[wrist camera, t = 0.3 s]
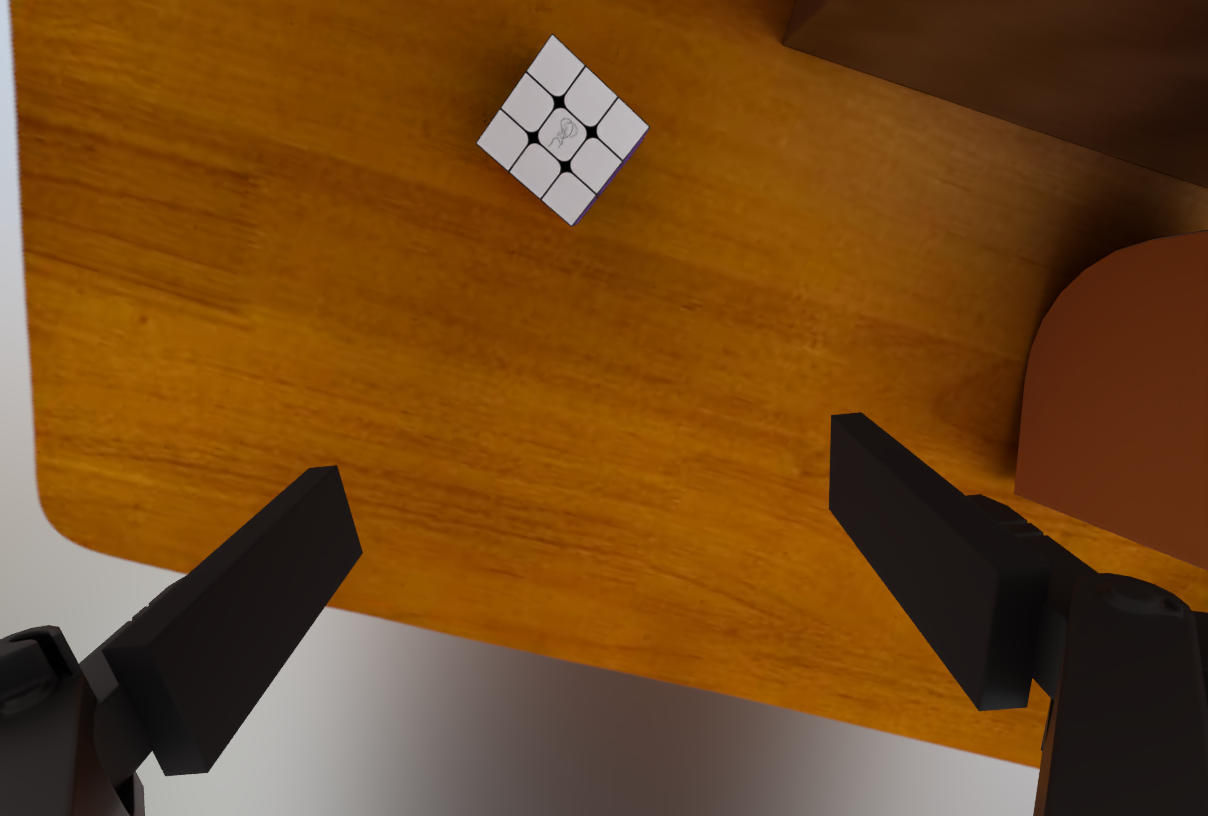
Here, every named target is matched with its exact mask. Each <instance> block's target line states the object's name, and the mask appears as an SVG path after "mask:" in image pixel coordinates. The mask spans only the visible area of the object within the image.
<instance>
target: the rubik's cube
mask: <svg viewBox="0 0 1208 816" xmlns="http://www.w3.org/2000/svg"><path fill="white" fill-rule="evenodd" d="M649 128H650V126H649V125H648V124H647V123H646V122H645V121H644V120H643V119H642V118H641V117H639V116H638V115H637V114H636V113H635V112H634V111H633V110H632V109H631V108H630V107H629V106H628V105H627V104H626V103H625V102H624V101H623V100H622V99H621V98H620V97H618V96H617V95H616V94H615V93H614V92H613V91H612V90H611V89H610V88H609V87H608V86H607V85H606V84H605V83H604V82H603V81H602V80H601V79H600V78H599V77H598V76H597V75H595V74H594V73H593V72H592V71H591V70H590V69H589V68H588V67H587V66H586V65H585V64H584V63H583V62H582V61H581V60H580V59H579V58H578V57H577V56H576V55H575V54H573V53H572V52H571V51H570V50H569V49H568V48H567V47H566V46H565V45H564V44H563V43H562V42H561V41H560V40H559V39H558V38H557V37H556V36H555V35H554V34H551V36H550V37H549V39H548V40H547V42H546V43H545V44H544V46H543V47H542V49H541V50H540V52H539V53H538V54H537V56H536V57H535V59H534V60H533V62H532V63H531V64H530V66H529V67H528V69H527V70H526V72H525V73H524V74H523V76H522V77H521V79H520V80H519V82H518V83H517V84H516V86H515V87H514V89H513V90H512V92H511V93H510V95H509V96H508V97H507V99H506V100H505V102H504V103H503V105H502V106H501V109H499V110H498V112H497V113H496V115H495V116H494V117H493V119H492V120H491V122H490V123H489V125H488V126H487V127H486V129H485V130H484V132H483V133H482V135H481V136H480V137H479V139H478V140H477V142H476V144H477V145H478V146H479V147H480V148H481V149H482V150H484V151H485V152H486V153H487V154H488V155H489V156H490V157H492V158H493V159H494V160H495V161H496V162H497V163H498V164H500V165H501V166H502V167H503V168H504V169H505V170H507V171H508V172H509V173H510V174H511V175H512V176H513V177H515V178H516V179H517V180H518V181H519V182H520V183H521V184H523V185H524V186H525V187H526V188H527V189H528V190H530V191H531V192H532V193H533V194H534V195H535V196H536V197H538V198H539V199H540V200H541V201H542V202H543V203H544V204H546V205H547V206H548V207H549V208H550V209H551V210H552V211H554V212H555V213H556V214H557V215H558V216H559V217H561V218H562V219H563V220H564V221H565V222H566V223H567V224H569V225H570V226H571V227H572V226H574V225H576V224H578V223H579V221H580V220H581V219H582V218H583V216H584V215H585V214H586V212H587V211H588V210H589V209H590V207H591V206H592V205H593V204H594V202H595V201H596V200H597V198H598V197H599V196H600V195H601V193H602V192H603V191H604V190H605V188H606V187H607V186H608V184H609V183H610V182H611V181H612V179H613V178H614V177H615V176H616V174H617V173H618V172H619V170H620V169H621V168H622V167H623V165H624V164H625V163H626V162H627V160H628V159H629V158H630V156H631V155H632V154H633V153H634V151H635V150H636V149H637V148H638V146H639V145H640V144H641V142H642V141H643V139H644V137H645V135H646V133H647V132H648V130H649Z"/></svg>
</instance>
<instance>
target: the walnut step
mask: <svg viewBox="0 0 1208 816" xmlns="http://www.w3.org/2000/svg"><path fill="white" fill-rule="evenodd" d="M783 45H784V46H787V47H790V48H793V49H796V50H799V51H802V52H805V53H808V54H811V55H814V56H817V57H820V58H823V59H826V60H829V61H832V62H835V63H838V64H841V65H844V66H847V67H850V68H853V69H856V70H859V71H862V72H865V73H868V74H871V75H874V76H876V77H879V78H882V79H885V80H888V81H891V82H894V83H897V84H900V85H903V86H906V87H909V88H912V89H915V90H918V91H921V92H924V93H927V94H930V95H933V96H936V97H939V98H942V99H945V100H948V101H951V102H954V103H957V104H960V105H963V106H966V107H969V108H972V109H974V110H977V111H980V112H983V113H986V114H989V115H992V116H995V117H998V118H1001V119H1004V120H1007V121H1010V122H1013V123H1016V124H1019V125H1022V126H1025V127H1028V128H1031V129H1034V130H1037V131H1040V132H1043V133H1046V134H1049V135H1052V136H1055V137H1058V138H1061V139H1064V140H1067V141H1070V142H1072V143H1075V144H1078V145H1081V146H1084V147H1087V148H1090V149H1093V150H1096V151H1099V152H1102V153H1105V154H1108V155H1111V156H1114V157H1117V158H1120V159H1123V160H1126V161H1129V162H1132V163H1135V164H1138V165H1141V166H1144V167H1147V168H1150V169H1153V170H1156V171H1159V172H1162V173H1165V174H1168V175H1170V176H1173V177H1176V178H1179V179H1182V180H1185V181H1188V182H1191V183H1194V184H1197V185H1200V186H1203V187H1206V188H1208V0H797V1H796V4H795V7H794V10H793V13H792V16H791V19H790V22H789V25H788V28H787V31H786V33H785V36H784V39H783Z"/></svg>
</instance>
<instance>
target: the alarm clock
mask: <svg viewBox="0 0 1208 816" xmlns="http://www.w3.org/2000/svg"><path fill="white" fill-rule="evenodd" d="M1014 494H1016V495H1018V496H1021V497H1023V498H1026V499H1028V500H1031V501H1034V502H1036V503H1039V504H1041V505H1044V506H1046V507H1049V508H1051V509H1054V510H1056V511H1059V512H1061V513H1064V514H1066V515H1069V516H1071V517H1074V518H1076V519H1079V520H1081V521H1084V522H1086V523H1089V524H1092V525H1094V526H1097V527H1099V528H1102V529H1104V530H1107V531H1109V532H1112V533H1114V534H1117V535H1119V536H1122V537H1124V538H1127V539H1129V540H1132V541H1134V542H1137V543H1139V544H1142V545H1144V546H1147V547H1149V548H1152V549H1155V550H1157V551H1160V552H1162V553H1165V554H1167V555H1170V556H1172V557H1175V558H1177V559H1180V560H1182V561H1185V562H1187V563H1190V564H1192V565H1195V566H1197V567H1200V568H1202V569H1205V570H1207V571H1208V230H1202V231H1197V232H1191V233H1185V234H1179V235H1173V236H1167V237H1161V238H1156V239H1152V240H1149V241H1146V242H1142V243H1139V244H1136V245H1133V246H1129V247H1126V248H1123V249H1119V250H1117V251H1115V252H1113V253H1112V254H1110V255H1108V256H1107V257H1105V258H1103V259H1102V260H1100V261H1098V262H1097V263H1095V264H1093V265H1092V266H1090V267H1088V268H1087V269H1085V270H1084V271H1083V272H1082V273H1081V274H1080V275H1079V276H1078V277H1077V278H1076V279H1075V280H1074V281H1073V282H1072V283H1071V284H1069V285H1068V286H1067V287H1066V288H1065V289H1064V290H1063V291H1062V292H1061V293H1060V295H1059V296H1058V298H1057V299H1056V301H1055V302H1054V304H1053V305H1052V307H1051V308H1050V310H1049V311H1048V313H1047V314H1046V316H1045V317H1044V319H1043V320H1042V323H1041V325H1040V328H1039V330H1038V332H1037V335H1036V337H1035V340H1034V342H1033V345H1032V347H1031V350H1030V355H1029V360H1028V365H1027V371H1026V376H1025V382H1024V393H1023V403H1022V414H1021V425H1020V436H1019V446H1018V457H1017V468H1016V478H1015V489H1014Z"/></svg>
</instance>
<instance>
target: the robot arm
mask: <svg viewBox="0 0 1208 816" xmlns="http://www.w3.org/2000/svg"><path fill="white" fill-rule="evenodd" d="M829 510H830V511H831V512H832V514H833V515H834V516H835V518H836V519H837V520H838V522H839V523H840V524H841V526H842V527H843V528H844V530H845V531H846V532H847V534H848V535H849V536H850V538H851V539H852V541H853V542H854V543H855V545H856V546H857V547H858V549H859V550H860V551H861V553H862V554H863V555H864V557H865V558H866V559H867V561H868V562H869V563H870V565H871V566H872V567H873V569H874V570H875V572H876V573H877V574H878V576H879V577H880V578H881V580H882V581H883V582H884V584H885V585H886V586H887V588H888V589H889V590H890V592H891V593H892V594H893V596H894V597H895V598H896V600H897V601H898V602H899V604H900V605H901V607H902V608H903V609H904V611H905V612H906V613H907V615H908V616H909V617H910V619H911V620H912V621H913V623H914V624H915V625H916V627H917V628H918V629H919V631H920V632H921V633H922V635H923V636H924V637H925V639H926V640H927V642H928V643H929V644H930V646H931V647H932V648H933V650H934V651H935V652H936V654H937V655H938V656H939V658H940V659H941V660H942V662H943V663H944V664H945V666H946V667H947V668H948V670H949V671H950V673H951V674H952V675H953V677H954V678H955V679H956V681H957V682H958V683H959V685H960V686H961V687H962V689H963V690H964V691H965V693H966V694H967V695H968V697H969V698H970V699H971V701H972V702H973V703H974V705H975V706H976V708H977V709H978V710H979V711H987V710H1000V709H1012V708H1025V707H1027V704H1028V698H1029V693H1030V687H1031V682H1032V678H1033V679H1034V680H1035V681H1036V682H1037V683H1038V684H1039V685H1040V687H1041V688H1042V689H1043V690H1044V691H1045V692H1046V693H1047V694H1048V695H1049V696H1050V698H1051V701H1050V706H1049V711H1048V716H1047V721H1046V726H1045V731H1044V736H1043V741H1042V746H1041V751H1042V758H1041V765H1040V772H1039V780H1038V786H1037V794H1036V800H1035V807H1034V814H1033V816H1208V613H1205V612H1196V611H1191V609H1190V608H1189V606H1188V605H1187V604H1186V603H1184V602H1183V601H1182V600H1181V599H1179V598H1178V597H1177V596H1176V595H1174V594H1173V593H1171V592H1169V591H1167V590H1165V589H1162V588H1160V587H1158V586H1156V585H1154V584H1152V583H1149V582H1146V581H1143V580H1139V579H1136V578H1133V577H1129V576H1123V575H1117V574H1111V573H1097V572H1096V571H1095V570H1093V569H1092V568H1091V567H1089V566H1088V565H1087V564H1085V563H1084V562H1082V561H1081V560H1080V559H1078V558H1077V557H1076V556H1074V555H1073V554H1072V553H1070V552H1069V551H1068V550H1066V549H1065V548H1064V547H1062V546H1061V545H1060V544H1058V543H1057V542H1055V541H1054V540H1053V539H1051V538H1050V537H1049V536H1047V535H1046V536H1044V535H1043V532H1042V531H1041V530H1039V529H1038V528H1037V527H1035V526H1034V525H1033V524H1031V523H1027V520H1026V519H1024V518H1023V517H1022V516H1020V515H1019V514H1018V513H1016V512H1015V511H1014V510H1012V509H1011V508H1010V507H1008V506H1007V505H1004V504H1002V503H1000V502H997V501H995V500H992V499H990V498H988V497H985V496H983V495H981V494H978V495H968V496H965V495H964V494H963V493H962V492H960V491H959V490H958V489H957V488H955V487H954V486H953V485H952V484H950V483H949V482H948V481H947V480H945V479H944V478H943V477H942V476H940V475H939V474H938V473H937V472H935V471H934V470H933V469H932V468H930V467H929V466H928V465H927V464H925V463H924V462H923V461H922V460H920V459H919V458H918V457H917V456H915V455H914V454H913V453H912V452H910V451H909V450H908V449H907V448H905V447H904V446H903V445H902V444H900V443H899V442H898V441H897V440H895V439H894V438H893V437H891V436H890V435H889V434H888V433H886V432H885V431H884V430H883V429H881V428H880V427H879V426H878V425H876V424H875V423H874V422H873V421H871V420H870V419H869V418H868V417H866V416H865V415H864V414H863V413H861V412H859V413H849V414H839V415H831V446H830V487H829ZM362 553H363V552H362V549H361V545H360V542H359V538H358V535H357V532H356V528H355V525H354V521H353V518H352V515H351V511H350V508H349V504H348V501H347V498H346V494H345V491H344V487H343V484H342V481H341V477H340V474H339V470H338V467H337V465H335V466H325V467H315V468H309V469H308V470H306V471H305V472H304V473H303V474H302V475H301V476H300V477H298V478H297V479H296V480H295V481H294V482H293V483H292V484H290V485H289V486H288V487H287V488H286V489H285V490H284V491H282V492H281V493H280V494H279V495H278V496H277V497H276V498H274V499H273V500H272V501H271V502H270V503H269V504H268V505H266V506H265V507H264V508H263V509H262V510H261V511H260V512H258V513H257V514H256V515H255V516H254V517H253V518H252V519H250V520H249V521H248V522H247V523H246V524H245V525H244V526H242V527H241V528H240V529H239V530H238V531H237V532H236V533H234V534H233V535H232V536H231V537H230V538H229V539H228V540H226V541H225V542H224V543H223V544H222V545H221V546H220V547H218V548H217V549H216V550H215V551H214V552H213V553H212V554H210V555H209V556H208V557H207V558H206V559H205V560H204V561H203V562H201V563H200V564H199V565H198V566H197V567H196V568H195V569H193V570H192V571H191V572H190V573H189V574H188V575H186V576H185V577H183V578H181V579H180V580H178V581H176V582H175V583H173V584H171V585H170V586H168V587H167V588H166V589H165V590H164V591H162V592H161V593H160V594H159V595H158V596H157V597H156V598H154V599H153V600H152V601H151V602H150V603H149V606H148V607H144V608H143V609H142V610H140V611H139V613H137V614H136V615H135V616H133V617H132V621H128V622H127V623H125V624H124V625H123V626H122V627H121V628H120V629H118V630H117V631H116V632H115V633H114V634H113V635H112V636H110V638H108V639H107V640H106V641H105V642H103V643H102V644H101V645H100V646H99V647H98V648H96V649H95V650H94V651H93V652H92V653H91V654H90V655H88V656H87V657H86V658H85V659H84V660H83V661H81V662H80V663H79V664H78V662H77V660H76V658H75V656H74V654H73V652H72V651H71V649H70V647H69V645H68V643H67V641H66V639H65V637H64V635H63V634H62V631H61V630H60V628H59V627H56V626H50V625H47V626H41V627H35V628H30V629H27V630H24V631H21V632H18V633H15V634H12V635H9V636H7V637H5V638H3V639H0V816H145V807H144V788H143V785H142V783H141V781H140V779H139V777H138V775H137V773H136V770H137V768H138V767H139V766H140V765H141V763H142V762H143V761H144V760H145V759H146V758H147V756H148V755H149V754H150V753H151V752H152V751H153V753H154V755H155V757H156V759H157V761H158V763H159V765H160V767H161V769H162V770H163V773H164V775H165V776H173V775H186V774H199V773H208V772H209V770H210V769H211V767H212V766H213V765H214V763H215V762H216V760H217V759H218V758H219V756H220V755H221V753H222V752H223V750H224V749H225V748H226V746H227V745H228V743H229V742H230V740H231V739H232V738H233V736H234V735H235V733H236V732H237V731H238V729H239V728H240V726H241V725H242V723H243V722H244V721H245V719H246V718H247V716H248V715H249V714H250V712H251V711H252V709H253V708H254V706H255V705H256V704H257V702H258V701H259V699H260V698H261V697H262V695H263V694H264V692H265V691H266V689H267V688H268V687H269V685H270V684H271V682H272V681H273V680H274V678H275V677H276V675H277V674H278V672H279V671H280V670H281V668H282V667H283V665H284V664H285V663H286V661H287V660H288V658H289V657H290V655H291V654H292V653H293V651H294V650H295V648H296V647H297V646H298V644H299V643H300V641H301V640H302V638H303V637H304V636H305V634H306V633H307V631H308V630H309V628H310V627H311V626H312V624H313V623H314V621H315V620H316V618H317V617H318V616H319V614H320V613H321V611H322V610H323V609H324V607H325V606H326V604H327V603H328V602H329V600H330V599H331V597H332V596H333V594H334V593H335V592H336V590H337V589H338V587H339V586H340V585H341V583H342V582H343V580H344V579H345V577H346V576H347V575H348V573H349V572H350V570H351V569H352V567H353V566H354V565H355V563H356V562H357V560H358V559H359V558H360V556H361V555H362Z"/></svg>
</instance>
